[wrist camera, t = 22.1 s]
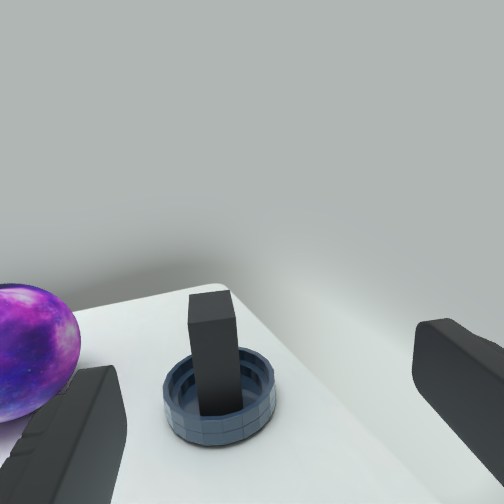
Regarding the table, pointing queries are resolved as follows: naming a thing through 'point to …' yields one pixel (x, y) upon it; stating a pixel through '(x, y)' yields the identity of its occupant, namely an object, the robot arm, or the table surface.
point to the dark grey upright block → (215, 353)
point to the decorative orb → (34, 348)
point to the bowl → (227, 426)
